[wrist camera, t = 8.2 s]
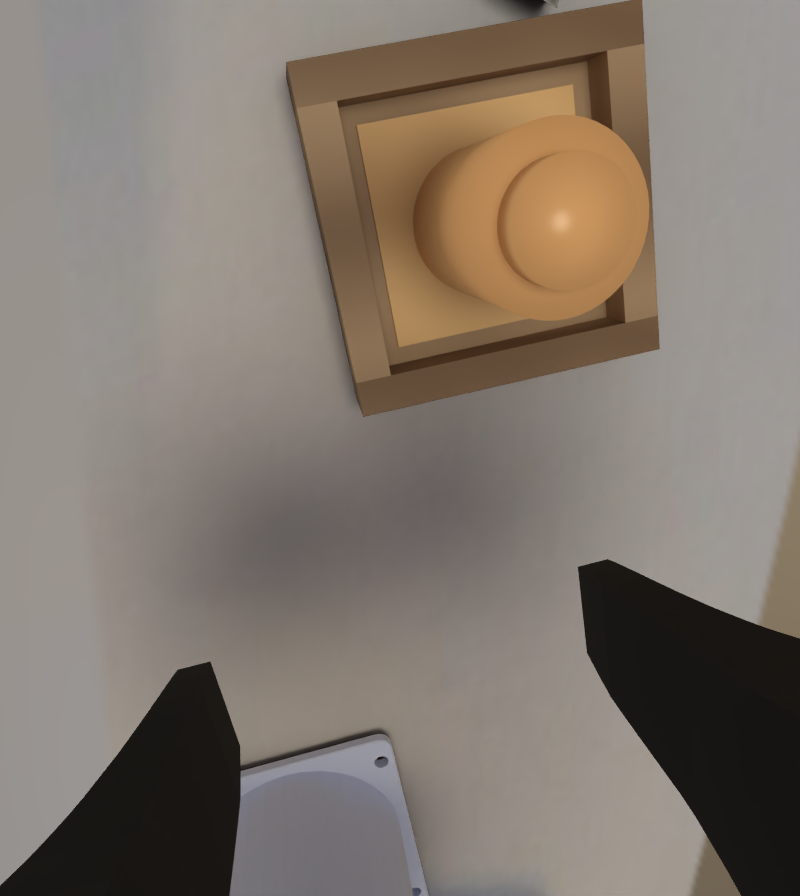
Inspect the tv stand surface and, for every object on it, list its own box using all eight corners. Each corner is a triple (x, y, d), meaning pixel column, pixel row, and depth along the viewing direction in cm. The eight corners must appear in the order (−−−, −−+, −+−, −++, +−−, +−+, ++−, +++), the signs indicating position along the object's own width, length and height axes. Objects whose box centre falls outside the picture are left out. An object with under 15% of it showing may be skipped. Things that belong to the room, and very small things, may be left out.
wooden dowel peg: (557, 278, 20) (674, 303, 14) (426, 306, 19) (489, 345, 13) (542, 131, 18) (665, 90, 12) (400, 159, 18) (459, 130, 12)
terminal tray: (630, 338, 21) (659, 348, 20) (357, 400, 21) (363, 417, 19) (609, 18, 18) (641, -2, 17) (286, 77, 17) (286, 62, 16)
